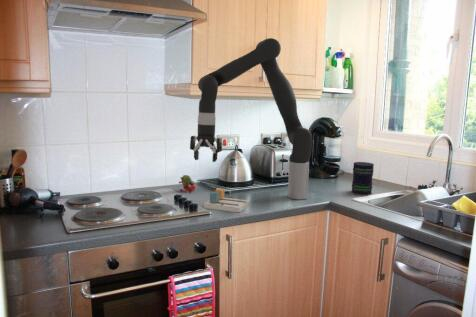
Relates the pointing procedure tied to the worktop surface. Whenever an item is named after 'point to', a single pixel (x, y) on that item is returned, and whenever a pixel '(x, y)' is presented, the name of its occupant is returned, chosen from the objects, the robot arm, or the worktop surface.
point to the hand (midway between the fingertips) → (205, 160)
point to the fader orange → (220, 193)
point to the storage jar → (362, 178)
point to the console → (228, 204)
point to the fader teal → (214, 197)
